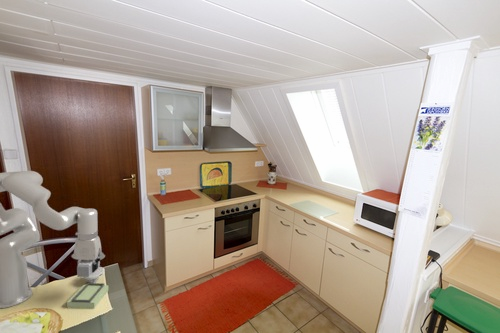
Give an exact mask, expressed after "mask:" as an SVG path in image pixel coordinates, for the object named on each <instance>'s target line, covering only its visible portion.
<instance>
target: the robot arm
mask: <svg viewBox="0 0 500 333" xmlns="http://www.w3.org/2000/svg"><path fill="white" fill-rule="evenodd" d="M43 180H44V178H43V177H42V175H41V174H40V173H39V172H37V171H34V170H24V171H23V170H20V171H9V172H6V171H5V172H0V193H2V192H8V193H9V194H11V195H13V196H14V197H17V198H18V199H20V200H21V201H23V202H24V203H26V204H28V205H29V206H31V208H32V212H33V214H34V216H35V218H36V219H37V220H38V221H39V222H40V223H41V224H43V225H44V226H46V227H48V228H50V229H52V230H56V231H63V230H66V229H68V228H70V227H71V226H73V225H75V224H77V231H76V232H75V236H77V238H76V239H75V243H74V248H73V254H71V256H70V257H71V258H72V259H74V261H75V262H77V265H78V264H79V263H80V262H81V261H82V260H92V261H93V265H92V272H95V271H96V270H97V269H98V262H99V261H100V262H101V260H103V259H104V258H105V257H106V254H104V252H102V243H101V239H100V236H99V235H98V234H99V233H98V232H99V230H98V223H99V222H98V210H97V209H95V208H83V207H79V206H71V207H68V208H66V209H64V210H62V211H60V212H58V211H56V210H55V209H53V208H52V207H50V205H49V204H48V200H49V199H50V197H51V194H52V193H51V191H50V190H49V189H47V188H45V187H44V186H42V184H43ZM11 231H13V232H12V233H10V234H8V235H6V233H9V232H11ZM2 235H6V236H4V237H2V238H0V309H5V308H6V309H7V308H11V307H15V306H17V305H20V304H21V303H23V302H26V300H28V299H29V298H31V297H32V295H33V293H34V290H33V288H31V287H29V282H28V280H29V278H28V261H27V259H26V257H25V256H24V255H23V252H24V251H25V250H27V249H28V248H30V247H32V246H33V245H35V244H36V243H38V241H39V240H40V237H41V235H40V231H39V229H38V228H37V226H36V224H35V222H34V221H33V219H32V217H31V216H30V214H29V213H28V212H27V211H26V210H24V209H22V208H18V207H14V208H10V209H5V207H4V206H3V205H2V203H1V202H0V236H2ZM98 257H99V258H98ZM95 259H96V260H95Z"/></svg>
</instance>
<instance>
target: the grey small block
mask: <svg viewBox="0 0 500 333" xmlns="http://www.w3.org/2000/svg"><path fill="white" fill-rule="evenodd" d="M99 257H100V256H98V258H99ZM95 260H96V259H95ZM100 264H101V260H100V261H99V262H98V267H101V265H100ZM92 265H93V261H92V260H82V261H81V262H80V263H79V264H78V263H77V266H76V272H77V273H76V275H77V276H76V277H77V278H83V277H89V276H90V275H91V274H92V273H93V272H92Z"/></svg>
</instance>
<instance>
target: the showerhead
mask: <svg viewBox="0 0 500 333" xmlns="http://www.w3.org/2000/svg"><path fill="white" fill-rule="evenodd" d="M104 274H105V269H104V267H102V266H99V267H98V269H97V270H96V271H95V272H93V273H92V274H91V275H90V276H89V277H82V278H83V279H84V280H87V281H88V283H97V281H98V280H100V279H99V278H100V277H102V276H103V275H104Z"/></svg>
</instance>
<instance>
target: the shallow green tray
mask: <svg viewBox="0 0 500 333" xmlns="http://www.w3.org/2000/svg"><path fill="white" fill-rule="evenodd" d="M108 292H109V285H107V284H105V283H103V282H101V283H98V282H96V283H91V282H88V283H87V284H83V285H82V286H81V287H80V288H79V289H78V290H77V291H76V292H75V294H73V295H72V296H71V297H70V298H69V299H68V300H67V301H66V308H67V309H95V308H96V307H97V306H98V305H99V303H100V302H101V300H102V299H103V298H104V297H105V296H106V294H107V293H108ZM104 295H105V296H104Z"/></svg>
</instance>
